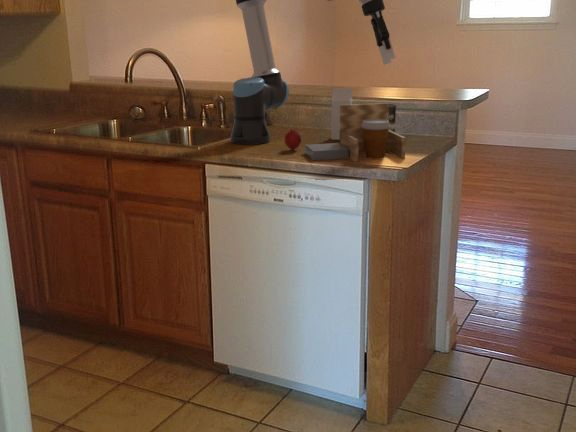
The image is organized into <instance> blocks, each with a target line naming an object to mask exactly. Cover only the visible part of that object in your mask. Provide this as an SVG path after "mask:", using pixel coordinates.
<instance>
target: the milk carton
mask: <svg viewBox="0 0 576 432" xmlns="http://www.w3.org/2000/svg"><path fill="white" fill-rule="evenodd" d="M352 91H353V89H352V88H332V95H331V140H332V141H333V140H336V141H337V140H338V141H340V105H353V92H352Z"/></svg>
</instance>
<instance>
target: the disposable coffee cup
mask: <svg viewBox="0 0 576 432" xmlns="http://www.w3.org/2000/svg"><path fill="white" fill-rule="evenodd" d="M361 126H362V128H363V137H364V147H365V150H364V154H365V158H367V159H370V158H371V160H372V159H373V160H376V159H378V160H379V159H380V158H381V159H384V158H385V156H386V144H387V137H388V130H389V127H390V124H389V121H388V120H382V119H369V120H363V122H362V124H361Z"/></svg>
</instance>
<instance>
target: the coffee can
mask: <svg viewBox="0 0 576 432" xmlns="http://www.w3.org/2000/svg"><path fill="white" fill-rule="evenodd" d="M396 109H397V105H396V104H394V103H389V117H388V121H389V124H390V127H389V130H391V131H393V132H395V133H396V119H397V118H396V117H397V116H396V115H397V112H396V111H397V110H396Z"/></svg>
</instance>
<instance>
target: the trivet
mask: <svg viewBox="0 0 576 432" xmlns="http://www.w3.org/2000/svg"><path fill="white" fill-rule="evenodd" d="M304 146H305V147H304V148H305V150H304V151H305V154H306V156H308V157H309V158H310V159H311V160H313V161H321V159H325V160H337V159H338V158H343V159H350V158H349V149H348V148H346V147H344V146H343V145H341V144H340V142H333V143H315V144H314V143H313V144H305V145H304Z"/></svg>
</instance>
